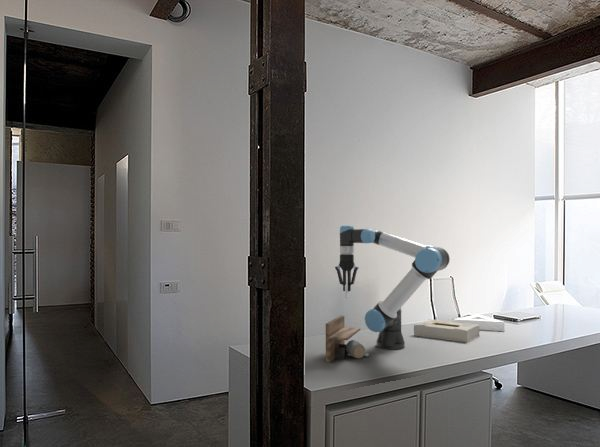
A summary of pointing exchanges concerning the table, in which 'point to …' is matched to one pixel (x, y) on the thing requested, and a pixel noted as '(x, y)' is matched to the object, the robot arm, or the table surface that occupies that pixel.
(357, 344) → the ceramic mug
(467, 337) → the box
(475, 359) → the table surface
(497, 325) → the triangle block
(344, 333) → the walnut shelf
